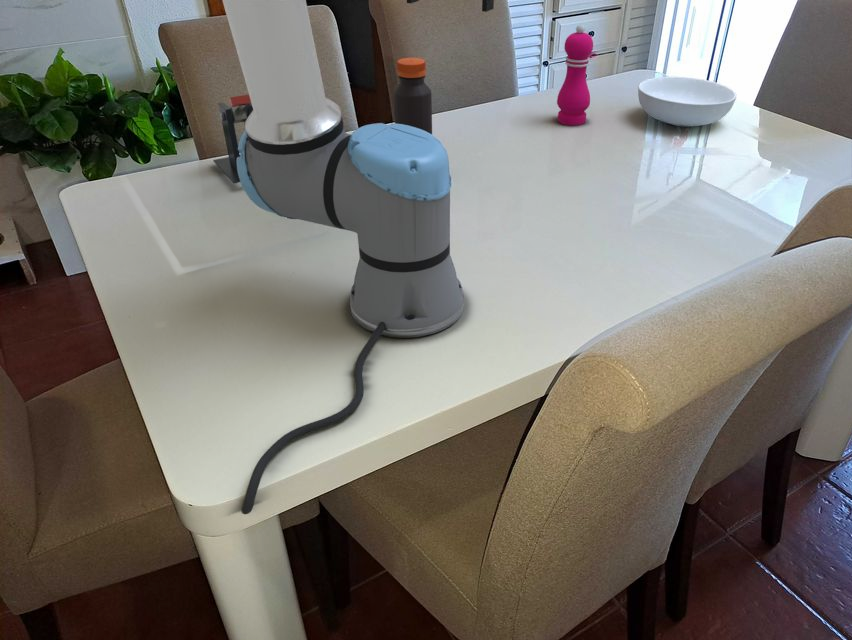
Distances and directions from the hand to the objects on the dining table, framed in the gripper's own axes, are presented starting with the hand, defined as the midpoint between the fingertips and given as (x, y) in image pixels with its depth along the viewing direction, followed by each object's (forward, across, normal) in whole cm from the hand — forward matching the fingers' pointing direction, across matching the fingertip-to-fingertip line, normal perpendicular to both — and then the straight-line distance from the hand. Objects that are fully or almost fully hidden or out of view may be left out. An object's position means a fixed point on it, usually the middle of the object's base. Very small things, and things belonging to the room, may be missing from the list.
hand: (449, 6), depth 113 cm
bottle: (+29, +7, 0) cm, 30 cm away
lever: (+17, +30, +18) cm, 39 cm away
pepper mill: (+29, -9, -41) cm, 51 cm away
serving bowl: (+29, -31, -53) cm, 68 cm away
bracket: (+29, +35, +15) cm, 48 cm away
